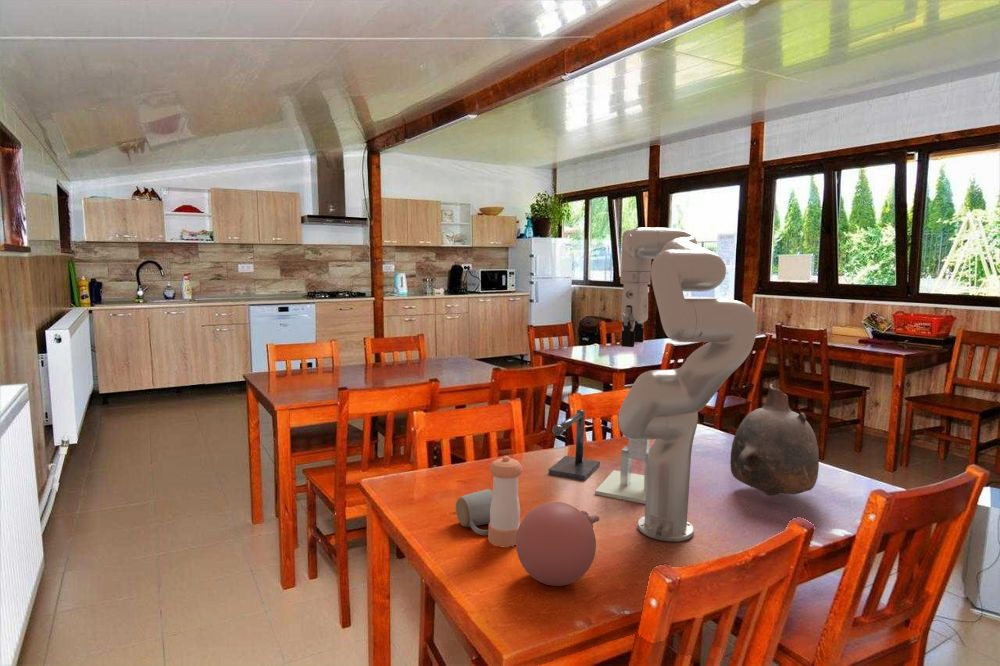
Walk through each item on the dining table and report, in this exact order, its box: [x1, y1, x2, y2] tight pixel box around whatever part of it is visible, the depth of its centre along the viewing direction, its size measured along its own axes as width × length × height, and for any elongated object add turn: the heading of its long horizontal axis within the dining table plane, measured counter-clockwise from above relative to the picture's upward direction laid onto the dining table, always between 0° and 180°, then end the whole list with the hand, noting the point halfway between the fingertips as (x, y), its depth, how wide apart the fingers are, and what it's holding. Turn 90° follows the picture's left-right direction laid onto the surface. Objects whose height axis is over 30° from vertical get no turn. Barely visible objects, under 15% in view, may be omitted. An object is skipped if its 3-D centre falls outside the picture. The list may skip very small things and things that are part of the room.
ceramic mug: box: [455, 488, 493, 536], centre depth 143 cm, size 11×8×8 cm
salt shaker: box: [487, 455, 523, 548], centre depth 135 cm, size 7×7×19 cm
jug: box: [729, 383, 820, 497], centre depth 163 cm, size 24×21×30 cm
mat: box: [594, 469, 646, 505], centre depth 168 cm, size 18×18×1 cm
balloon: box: [515, 501, 600, 587], centre depth 120 cm, size 15×20×15 cm
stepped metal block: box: [620, 438, 651, 490], centre depth 167 cm, size 4×8×14 cm, turn 64°
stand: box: [548, 409, 601, 482], centre depth 176 cm, size 24×11×18 cm, turn 154°
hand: (632, 344), depth 160 cm, fingers open, 9 cm apart
